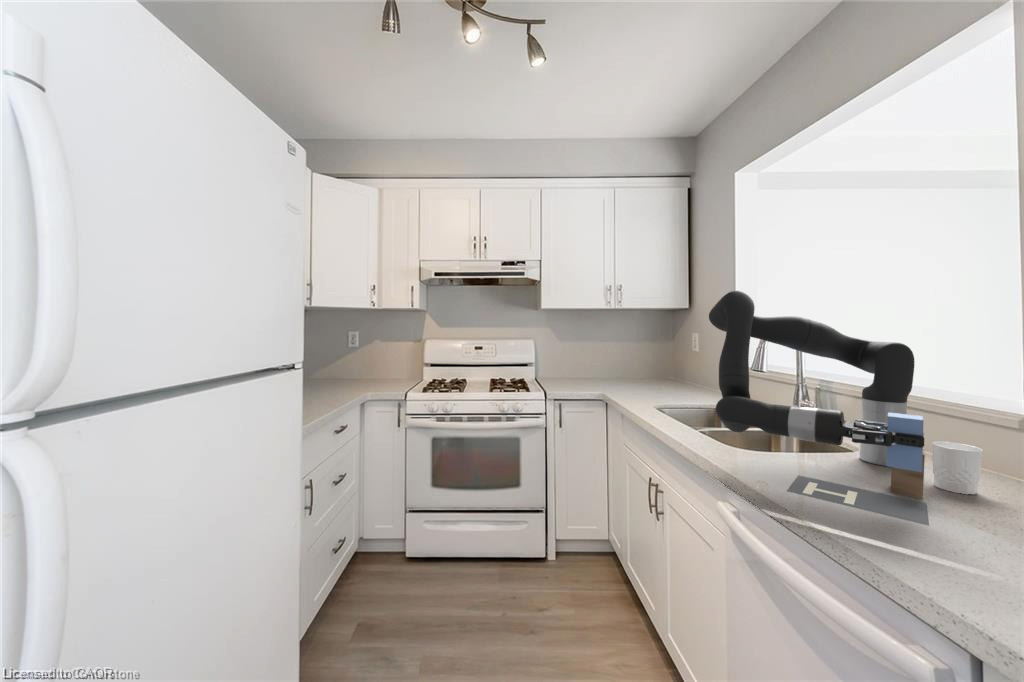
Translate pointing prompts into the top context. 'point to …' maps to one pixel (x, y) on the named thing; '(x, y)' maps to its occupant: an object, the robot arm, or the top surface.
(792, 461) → the top surface
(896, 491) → the walnut block
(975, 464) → the white cup
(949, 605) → the top surface
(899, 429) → the blue block
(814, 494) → the letter mat
